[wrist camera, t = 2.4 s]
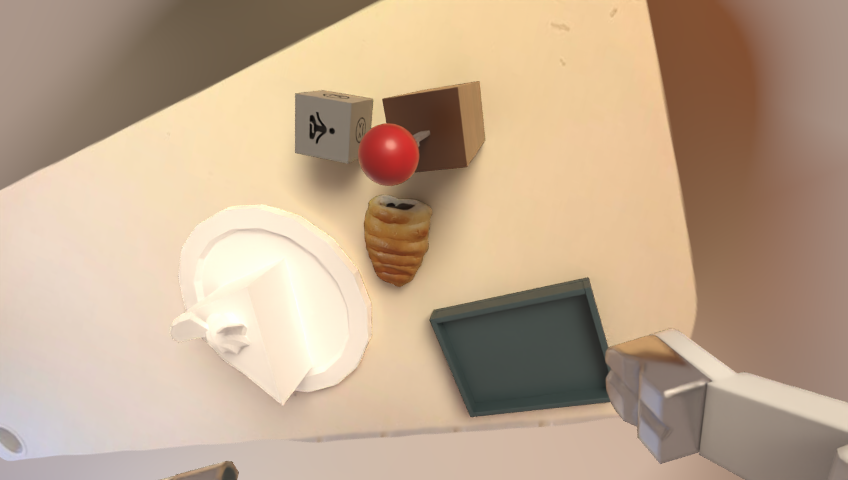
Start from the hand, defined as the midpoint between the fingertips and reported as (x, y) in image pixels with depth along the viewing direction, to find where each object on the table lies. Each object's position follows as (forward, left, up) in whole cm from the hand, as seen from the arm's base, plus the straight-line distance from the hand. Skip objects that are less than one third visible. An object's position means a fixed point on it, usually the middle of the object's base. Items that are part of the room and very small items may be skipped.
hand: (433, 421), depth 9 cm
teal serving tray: (+5, +20, -31) cm, 38 cm away
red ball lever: (+4, -5, -31) cm, 32 cm away
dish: (+32, +8, -31) cm, 45 cm away
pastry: (+13, +4, -31) cm, 34 cm away
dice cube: (+14, -8, -31) cm, 35 cm away
